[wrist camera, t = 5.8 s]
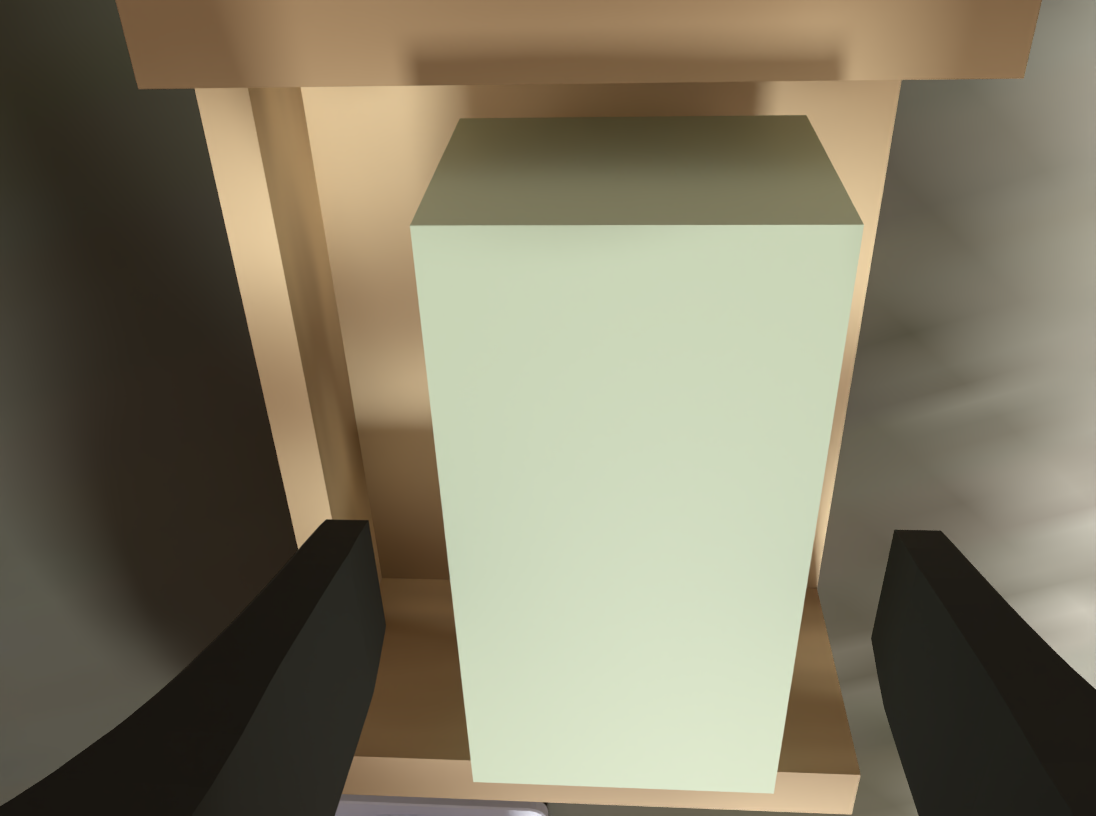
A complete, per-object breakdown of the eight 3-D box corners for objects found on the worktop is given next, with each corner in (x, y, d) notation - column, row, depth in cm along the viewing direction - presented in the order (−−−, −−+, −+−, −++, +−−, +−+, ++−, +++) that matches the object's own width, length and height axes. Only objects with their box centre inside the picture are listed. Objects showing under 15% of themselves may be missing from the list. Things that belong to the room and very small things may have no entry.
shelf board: (748, 617, 19) (774, 793, 16) (498, 610, 20) (473, 781, 16) (806, 114, 14) (863, 224, 11) (460, 118, 14) (409, 225, 11)
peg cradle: (806, 607, 23) (851, 814, 19) (360, 596, 24) (298, 792, 19) (919, -97, 15) (1049, -37, 10) (235, -80, 16) (77, -17, 11)
